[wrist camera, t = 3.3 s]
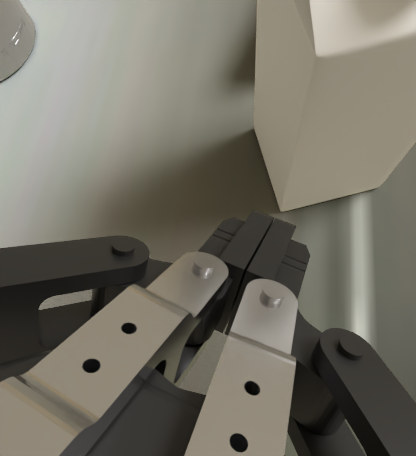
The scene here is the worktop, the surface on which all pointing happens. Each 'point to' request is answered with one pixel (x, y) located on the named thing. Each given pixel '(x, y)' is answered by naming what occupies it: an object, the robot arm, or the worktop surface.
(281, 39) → the milk carton
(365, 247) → the worktop surface
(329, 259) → the worktop surface
